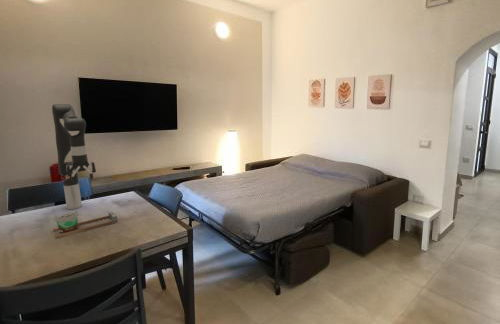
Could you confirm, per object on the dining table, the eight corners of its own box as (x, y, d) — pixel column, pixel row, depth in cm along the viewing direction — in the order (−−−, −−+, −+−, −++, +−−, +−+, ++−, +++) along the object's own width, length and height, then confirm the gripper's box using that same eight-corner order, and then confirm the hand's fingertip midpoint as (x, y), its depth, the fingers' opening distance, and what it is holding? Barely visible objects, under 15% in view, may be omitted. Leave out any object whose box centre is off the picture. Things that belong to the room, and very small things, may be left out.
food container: (61, 236, 160) (58, 219, 158) (56, 233, 164) (54, 217, 162) (84, 228, 170) (81, 212, 168) (79, 225, 173) (77, 210, 171)
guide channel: (53, 231, 166) (51, 225, 165) (112, 216, 187) (111, 211, 186) (55, 238, 157) (54, 231, 157) (117, 222, 178) (116, 216, 177)
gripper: (91, 151, 168) (94, 177, 171) (63, 154, 159) (67, 182, 162) (94, 153, 162) (98, 180, 166) (65, 156, 153) (69, 185, 157)
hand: (82, 181), depth 164 cm, fingers open, 8 cm apart
